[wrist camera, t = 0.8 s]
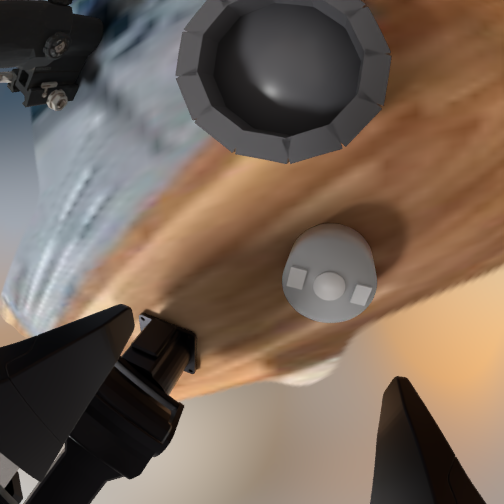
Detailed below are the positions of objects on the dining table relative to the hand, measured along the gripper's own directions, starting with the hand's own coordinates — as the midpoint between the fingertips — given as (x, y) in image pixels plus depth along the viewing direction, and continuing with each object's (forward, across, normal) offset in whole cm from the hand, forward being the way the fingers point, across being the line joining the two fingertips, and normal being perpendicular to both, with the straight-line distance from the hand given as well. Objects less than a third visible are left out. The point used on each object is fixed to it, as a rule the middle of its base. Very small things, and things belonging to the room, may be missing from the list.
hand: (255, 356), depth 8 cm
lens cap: (+12, -3, +3) cm, 13 cm away
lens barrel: (+12, +2, -10) cm, 16 cm away
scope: (+12, +21, -13) cm, 28 cm away
